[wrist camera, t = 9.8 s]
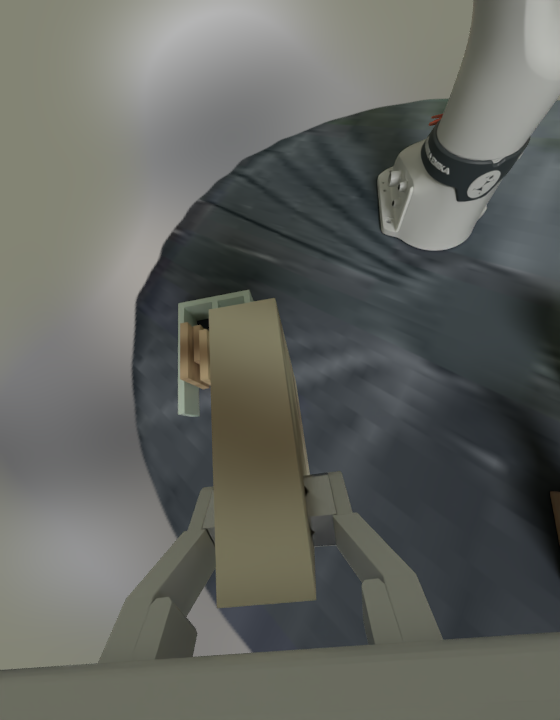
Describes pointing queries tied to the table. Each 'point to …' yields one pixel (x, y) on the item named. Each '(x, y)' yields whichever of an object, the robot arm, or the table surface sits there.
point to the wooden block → (556, 510)
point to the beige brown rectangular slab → (257, 461)
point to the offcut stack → (195, 355)
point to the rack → (192, 314)
